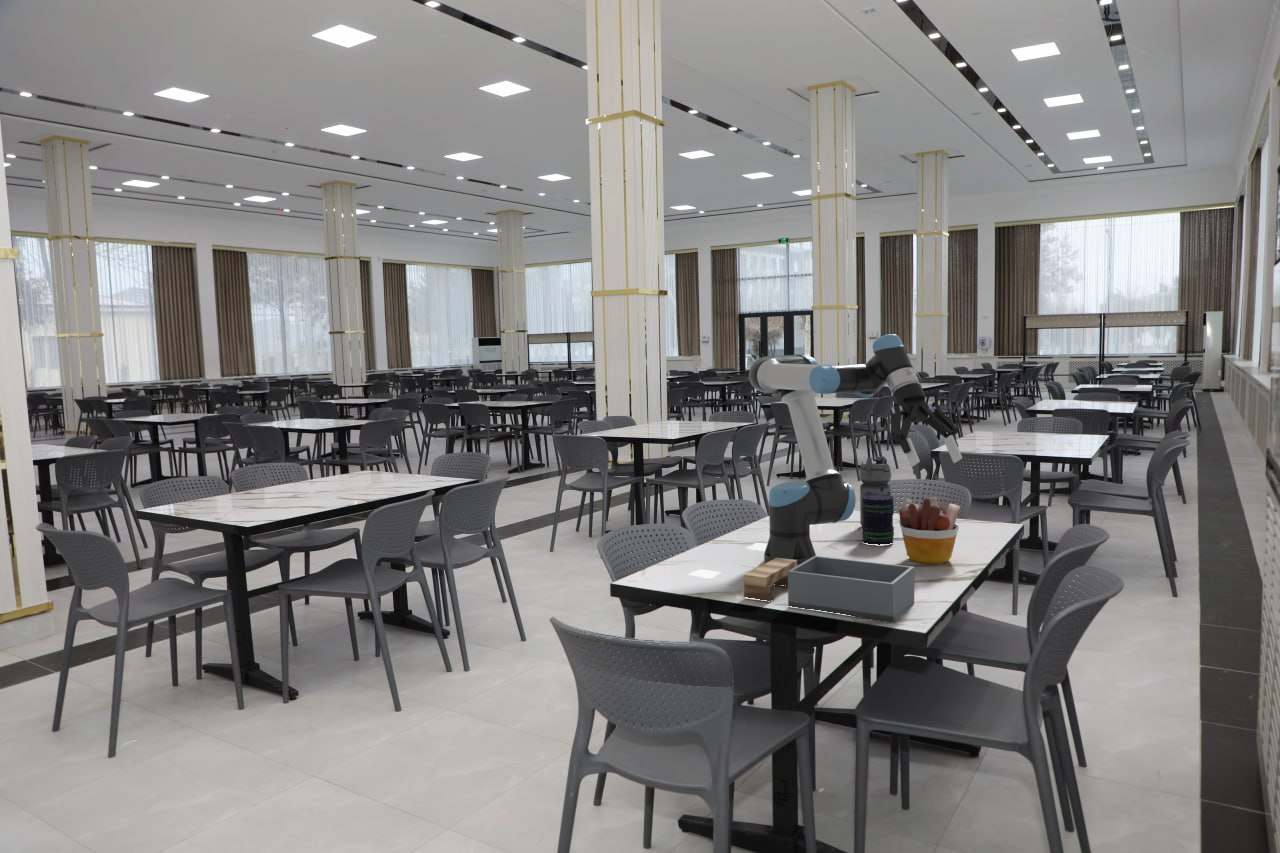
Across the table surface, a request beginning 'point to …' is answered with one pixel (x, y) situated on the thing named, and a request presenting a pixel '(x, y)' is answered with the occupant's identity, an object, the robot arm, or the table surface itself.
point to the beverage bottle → (874, 479)
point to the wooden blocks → (764, 590)
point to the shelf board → (769, 572)
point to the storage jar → (877, 519)
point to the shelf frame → (852, 587)
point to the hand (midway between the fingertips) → (937, 462)
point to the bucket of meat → (929, 530)
